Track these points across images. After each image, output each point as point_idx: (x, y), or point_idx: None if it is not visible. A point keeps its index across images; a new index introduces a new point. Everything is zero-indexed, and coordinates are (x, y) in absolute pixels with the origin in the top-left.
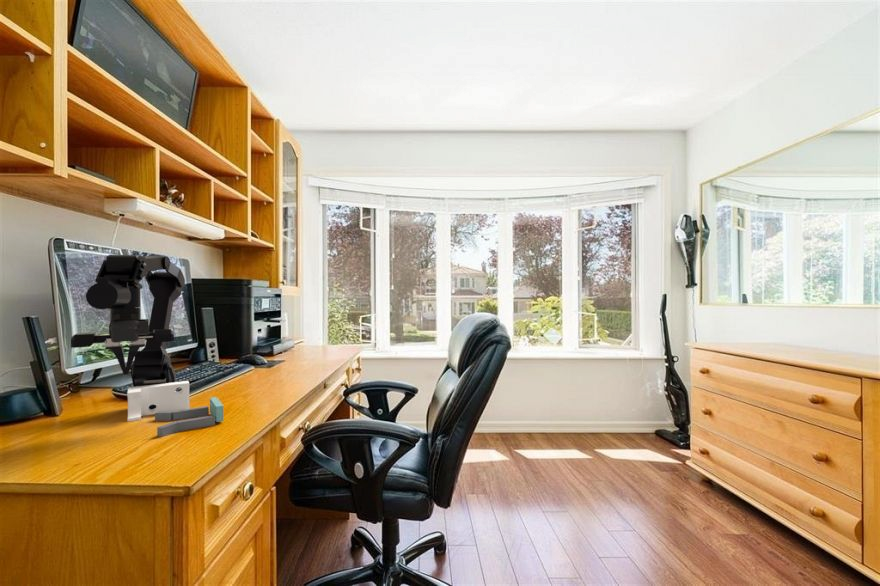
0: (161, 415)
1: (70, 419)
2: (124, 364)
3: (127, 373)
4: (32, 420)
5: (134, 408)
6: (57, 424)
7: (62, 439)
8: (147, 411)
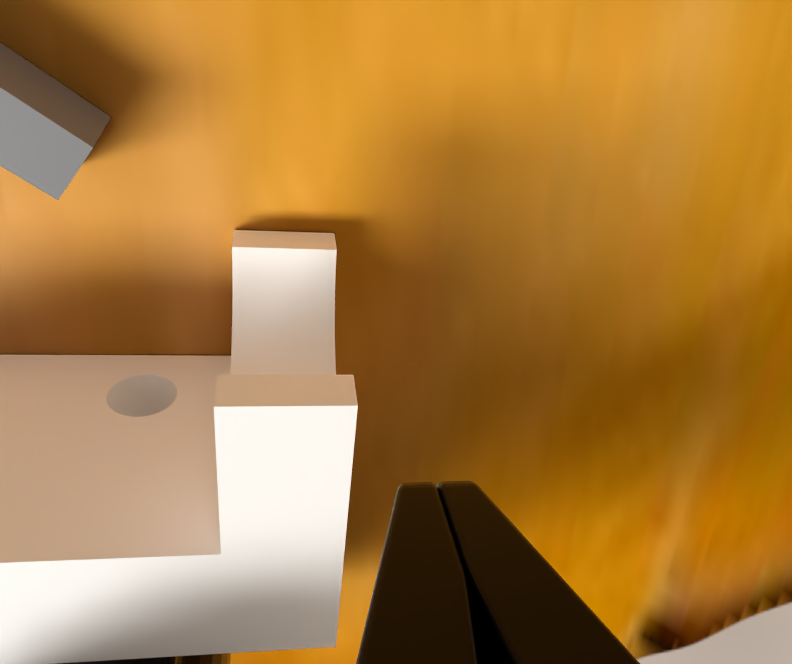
0: (27, 89)
1: (618, 532)
2: (531, 661)
3: (411, 491)
4: (750, 601)
5: (284, 368)
6: (693, 467)
7: (786, 37)
8: (186, 379)
